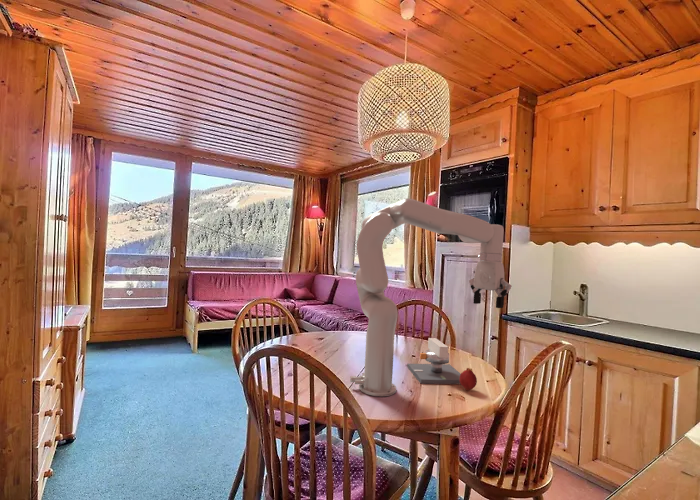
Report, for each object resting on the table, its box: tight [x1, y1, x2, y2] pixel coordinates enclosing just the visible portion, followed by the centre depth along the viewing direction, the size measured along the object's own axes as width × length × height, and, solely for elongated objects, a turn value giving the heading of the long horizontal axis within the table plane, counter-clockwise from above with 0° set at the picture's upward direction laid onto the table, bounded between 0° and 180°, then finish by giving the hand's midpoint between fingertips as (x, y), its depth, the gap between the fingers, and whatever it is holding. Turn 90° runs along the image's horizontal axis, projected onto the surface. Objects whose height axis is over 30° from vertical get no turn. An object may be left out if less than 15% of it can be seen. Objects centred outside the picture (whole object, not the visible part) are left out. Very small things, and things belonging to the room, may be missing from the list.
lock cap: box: [419, 337, 450, 364], centre depth 139 cm, size 11×13×7 cm
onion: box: [459, 367, 478, 392], centre depth 125 cm, size 6×6×8 cm
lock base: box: [406, 362, 462, 385], centre depth 139 cm, size 18×18×6 cm
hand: (487, 305), depth 130 cm, fingers open, 9 cm apart
